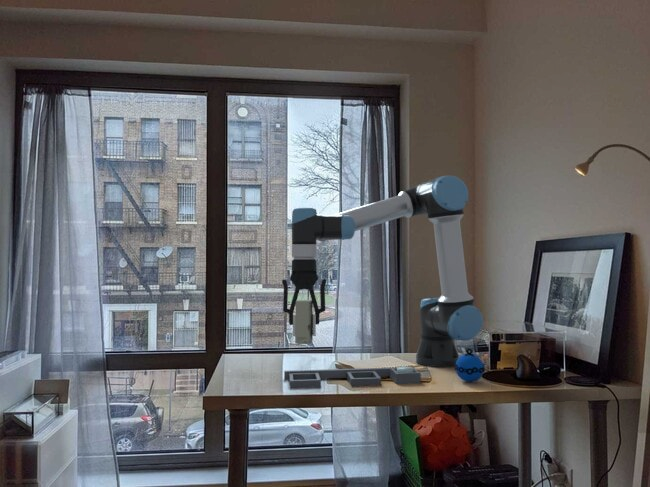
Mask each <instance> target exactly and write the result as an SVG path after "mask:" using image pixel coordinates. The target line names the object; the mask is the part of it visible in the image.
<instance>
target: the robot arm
mask: <svg viewBox="0 0 650 487" xmlns="http://www.w3.org/2000/svg"><path fill="white" fill-rule="evenodd" d="M468 200H469V190H468V187H467V185H466V183H465V182H464V181H463V180H462V179H460V177H458V176H455V175H449V174H448V175H442V176H438V177H436V178H433V179H430V180H426V181H423V182H421V183H419V184H418V185H415V186H413V187H411V188H408V189H406V190H402V191H400V192H399V193H398V195H396V196H392V197H389V198H385V199H382V200H379V201H376V202H372V203H368V204H365V205H362V206H360V207H359V206H358V207H355V208H352V209H348V210H345V211H342V212H338V213H335V214H333V215H332V214H330V215H328V214H327V215H326V214H325V215H323V214H318V213H317V209H316V208H314V207H307V206H306V207H303V206H302V207H295V208H294V209H293V210H292V211H291V212H292V213H291V223H290V224H291V258H293V259H292V260H291V274H290V277H287V278H283V279H282V280H281V282H282V285H283V302H282V310H283V312H284V313H286V314H288V323H289V325H290V326H292V337H295V323H296V313H294V311H295V309H296V301H298V296H299V292H300V290H301V291H302V290H308V292H309V296H310V298H311V299H310V300H312V303H313V309H314V310H313V311H314V313H313V337H316V335H317V331H316V330H317V326H316V325H319V324H320V314H321V313H325V312H326V293H325V292H326V290H325V288H326V285H327V279H325V278H321V277H319V275H318V274H317V260H316V259H315V258H317V241H319V242H326V241H335V240H336V241H337V240H341V241H344V240H351V239H352V238H353V237H354V235H355V232H358V231H361V230H364V229H366V228H371V227H374V226H377V225H380V224H383V223H387V222H390V221H393V220H397V219H400V218H403V217H405V218H407V219H409V218H413V217H416V216H423V215H427V220H428V221H429V222H431V223H432V224H433V230H434V239H435V240H434V241H435V242H434V243H435V248H436V249H435V250H436V256H437V258H436V259H437V269H438V274H439V283H440V284H439V285H440V290H441V291H440V292H441V295H440V296H439V297H433V298H432V297H431V298H423V299H421V301H420V308H419V311H420V312H419V314H420V315H419V316H420V318H419V319H420V342H419V345H418V348H417V351H416V354H415V362H416V363H417V364H420V365H423V366H428V367H437V368H439V367H441V368H443V367H444V368H445V367H455V364H456V361H457V360H458V358H459V357H460V356H459V352H458V349H457V347H456V343H455V341H462V342H463V341H465V342H466V341H471V340H473V339H474V338H476V337H477V336H478V334H479V333H480V332H481V330H482V327H483V322H484V318H483V314H482V312H481V311H480V310H479V309H478V308H477V307H476V306H475V299H474V296H473V295H471V294H470V293H469V289H468V280H467V273H466V272H467V271H466V264H465V255H464V254H465V253H464V245H463V236H462V227H461V220H462V218H463V217H464V214H465V213H464V207H465V206H467V205H466V204H467V202H468ZM290 282H292V284H293V285H294V286H295V288H294V292H293V294H292V295H293V296H292V300H291V303H290V306H289V308H288V298H289V296H288V294H289V293H288V292H289V287H288V286H290V284H291V283H290ZM317 282H318V285H319V296H320V298H319V301H320V307H319V305H318V301H317V298H316V294H315V291H314V285H315V284H316V283H317Z"/></svg>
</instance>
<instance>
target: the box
mask: <svg viewBox="0 0 650 487" xmlns="http://www.w3.org/2000/svg"><path fill="white" fill-rule="evenodd" d="M313 309H314V306H313V303H312V299H297V301H296V304H295V314H296V323H295V336H294V338H295V340H294V342H295V343H294V344H297V345H310V344H311V343H313V337H314V336H313V311H314V310H313Z"/></svg>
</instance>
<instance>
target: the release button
mask: <svg viewBox="0 0 650 487" xmlns="http://www.w3.org/2000/svg"><path fill="white" fill-rule="evenodd" d="M396 368H397V372H398V373H413V368H412V367H411V366H403V365H402V366H397V367H396Z"/></svg>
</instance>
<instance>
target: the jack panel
mask: <svg viewBox="0 0 650 487" xmlns="http://www.w3.org/2000/svg"><path fill="white" fill-rule="evenodd" d="M390 368H391V367H378V368H377V367H375V368H374V367H372V368H371V367H370V368H367V367H365V368H340V369H339V368H337V369H336V368H334V369H333V368H332V369H299V370H298V369H296V370H284V373H283V375H284V377H283V378H284V380H289V388H290V389H293V388H294V389H296V388H297V389H299V388H321V387H322V385H321V383H322V380H323V379H325V380H326V379H346V380H347V381H348V383H349V385H350V387H355V386H356V387H357V386H358V387H360V386H362V387H363V386H382V377H384V378H387V377H388V376H390ZM321 379H322V380H321Z"/></svg>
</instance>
